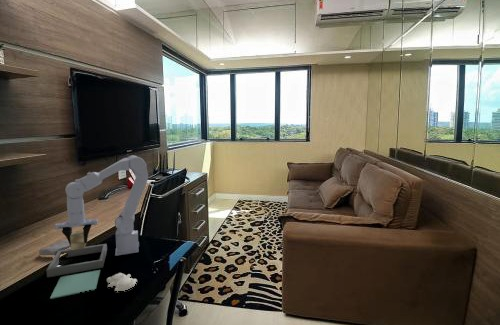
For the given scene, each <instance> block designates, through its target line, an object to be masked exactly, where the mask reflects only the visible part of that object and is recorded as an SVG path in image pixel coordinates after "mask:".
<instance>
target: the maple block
mask: <svg viewBox="0 0 500 325" xmlns="http://www.w3.org/2000/svg"><path fill="white" fill-rule="evenodd" d="M70 240H71V250H74V249H81V248H85V247H86V245H87V243H85V242H84V231H83V229H82V230H75V231H74V230H72V233H71V235H70Z"/></svg>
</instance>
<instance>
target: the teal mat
mask: <svg viewBox="0 0 500 325" xmlns="http://www.w3.org/2000/svg"><path fill="white" fill-rule="evenodd" d="M100 274H101V269H99V270H98V269H97V270H96V269H95V270H93V271H92V270H90V271H86V272H85V271H84V272H81V273H73V274H71V275H70V274H68V275H63V276H60V278H59V279H58V281H57V284H56V286H55V287H54V289H53V292H52V293H51V296H50V298H49V299H50V300H54V299H57V298H62V297H67V296H71V295H76V294H77V295H78V294H80V292H82V293H86V292H85V291H87V292H90V291H89V290H91V291H95V289H96V290H97V285H98V282H99V278H100Z"/></svg>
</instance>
